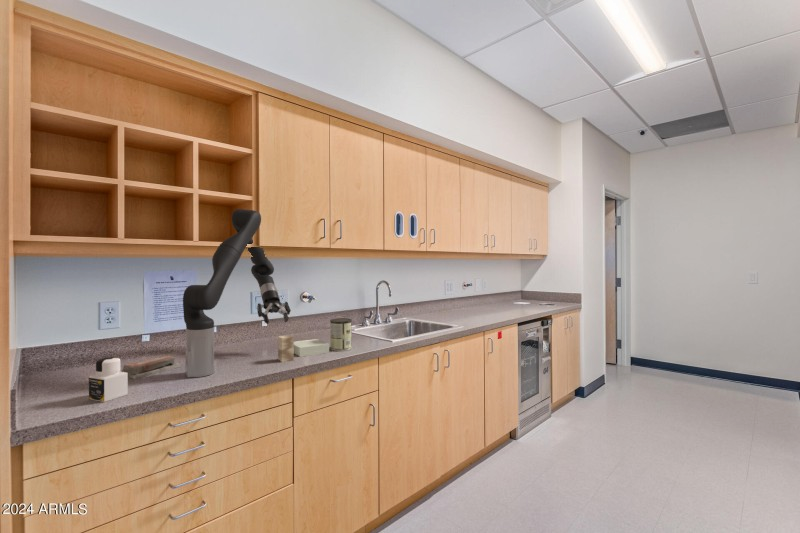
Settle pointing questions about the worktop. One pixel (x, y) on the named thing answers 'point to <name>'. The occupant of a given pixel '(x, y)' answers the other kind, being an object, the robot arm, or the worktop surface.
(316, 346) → the sage plinth
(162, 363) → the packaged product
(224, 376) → the worktop surface
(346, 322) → the coffee can
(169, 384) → the worktop surface
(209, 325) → the robot arm
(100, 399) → the medicine bottle
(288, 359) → the birch block
